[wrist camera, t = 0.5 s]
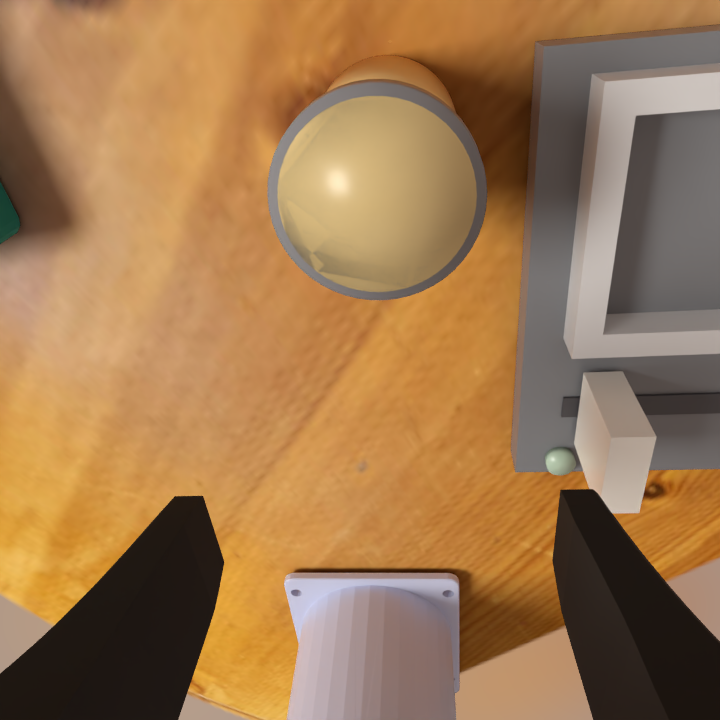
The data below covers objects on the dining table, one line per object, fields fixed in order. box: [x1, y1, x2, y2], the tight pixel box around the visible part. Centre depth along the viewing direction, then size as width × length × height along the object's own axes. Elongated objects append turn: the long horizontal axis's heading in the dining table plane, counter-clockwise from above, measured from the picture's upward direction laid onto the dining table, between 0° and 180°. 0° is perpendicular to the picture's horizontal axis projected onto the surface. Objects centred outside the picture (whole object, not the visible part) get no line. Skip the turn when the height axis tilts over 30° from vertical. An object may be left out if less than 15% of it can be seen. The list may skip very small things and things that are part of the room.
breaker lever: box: [574, 371, 657, 513], centre depth 19 cm, size 3×1×3 cm, turn 5°
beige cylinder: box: [268, 55, 487, 300], centre depth 15 cm, size 4×4×6 cm
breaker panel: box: [511, 24, 720, 475], centre depth 18 cm, size 14×10×2 cm
